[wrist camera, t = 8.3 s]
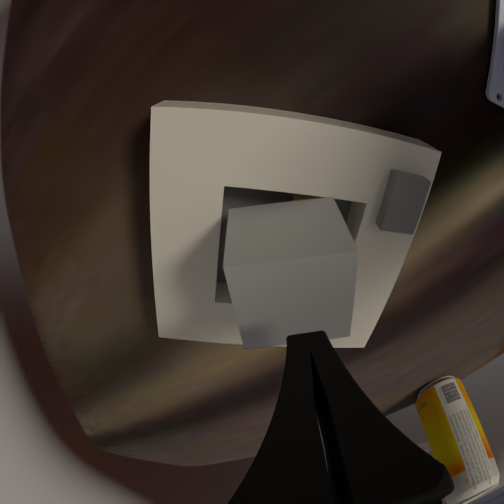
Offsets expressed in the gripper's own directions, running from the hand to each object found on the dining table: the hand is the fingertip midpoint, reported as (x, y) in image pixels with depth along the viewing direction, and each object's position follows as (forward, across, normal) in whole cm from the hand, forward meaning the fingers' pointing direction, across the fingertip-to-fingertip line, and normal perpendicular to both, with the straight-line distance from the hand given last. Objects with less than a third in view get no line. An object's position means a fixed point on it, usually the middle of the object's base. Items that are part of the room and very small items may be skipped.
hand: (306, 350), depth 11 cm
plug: (+8, 0, -1) cm, 8 cm away
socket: (+9, 0, 0) cm, 9 cm away
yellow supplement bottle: (+9, -16, +23) cm, 30 cm away
